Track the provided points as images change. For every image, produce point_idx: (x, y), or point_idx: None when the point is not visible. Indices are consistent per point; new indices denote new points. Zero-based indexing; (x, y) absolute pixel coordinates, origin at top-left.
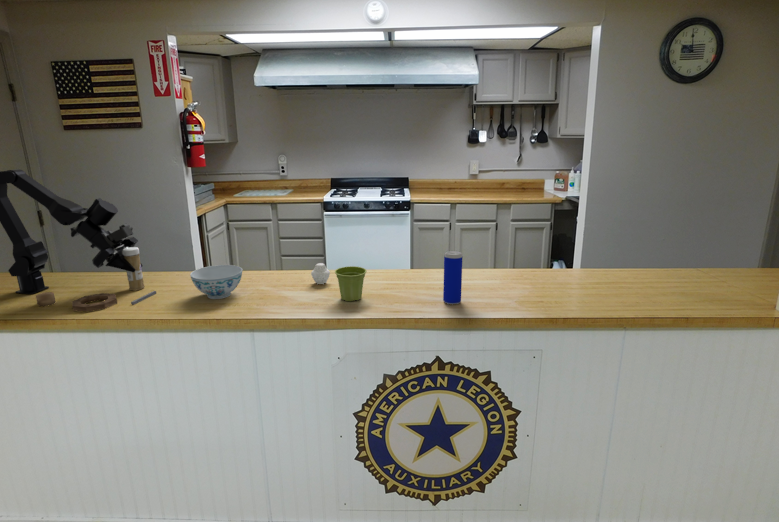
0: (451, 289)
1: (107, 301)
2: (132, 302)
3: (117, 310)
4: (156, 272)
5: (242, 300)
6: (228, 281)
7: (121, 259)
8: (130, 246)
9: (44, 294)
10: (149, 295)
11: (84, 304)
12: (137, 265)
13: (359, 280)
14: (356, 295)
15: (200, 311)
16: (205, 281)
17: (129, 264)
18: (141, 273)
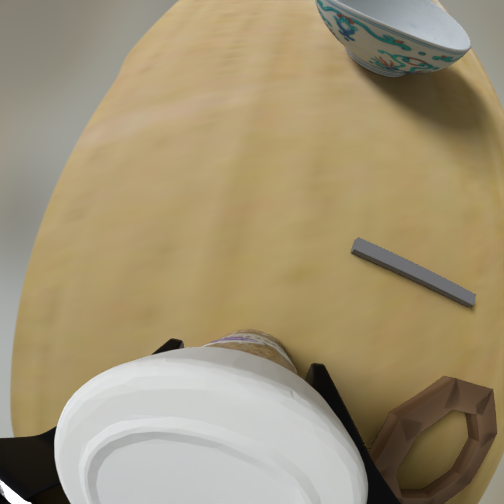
0: None
1: (477, 393)
2: (473, 299)
3: (500, 332)
4: (21, 318)
5: None
6: (428, 12)
7: (391, 496)
8: (33, 497)
9: None
10: (399, 258)
11: (475, 456)
12: (281, 357)
13: None
14: None
15: (479, 104)
16: (464, 40)
17: (342, 419)
18: (248, 336)
